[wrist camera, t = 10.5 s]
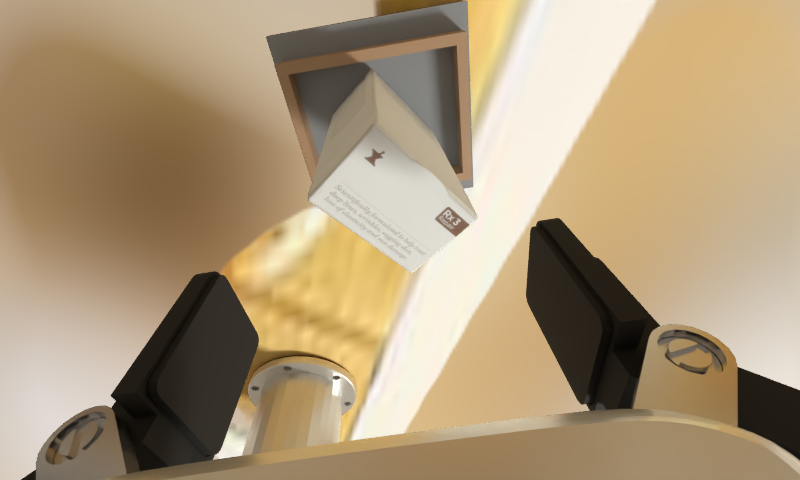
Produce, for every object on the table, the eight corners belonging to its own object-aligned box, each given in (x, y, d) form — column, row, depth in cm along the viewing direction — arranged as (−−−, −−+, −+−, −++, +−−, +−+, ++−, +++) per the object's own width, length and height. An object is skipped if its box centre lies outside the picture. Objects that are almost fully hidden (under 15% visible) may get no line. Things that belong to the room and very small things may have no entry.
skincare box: (329, 117, 23) (292, 202, 13) (374, 63, 22) (369, 115, 12) (396, 174, 26) (406, 282, 16) (440, 130, 24) (482, 221, 14)
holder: (470, 181, 28) (477, 195, 26) (323, 204, 28) (318, 220, 26) (463, 0, 21) (473, 0, 19) (270, 35, 21) (258, 39, 19)
